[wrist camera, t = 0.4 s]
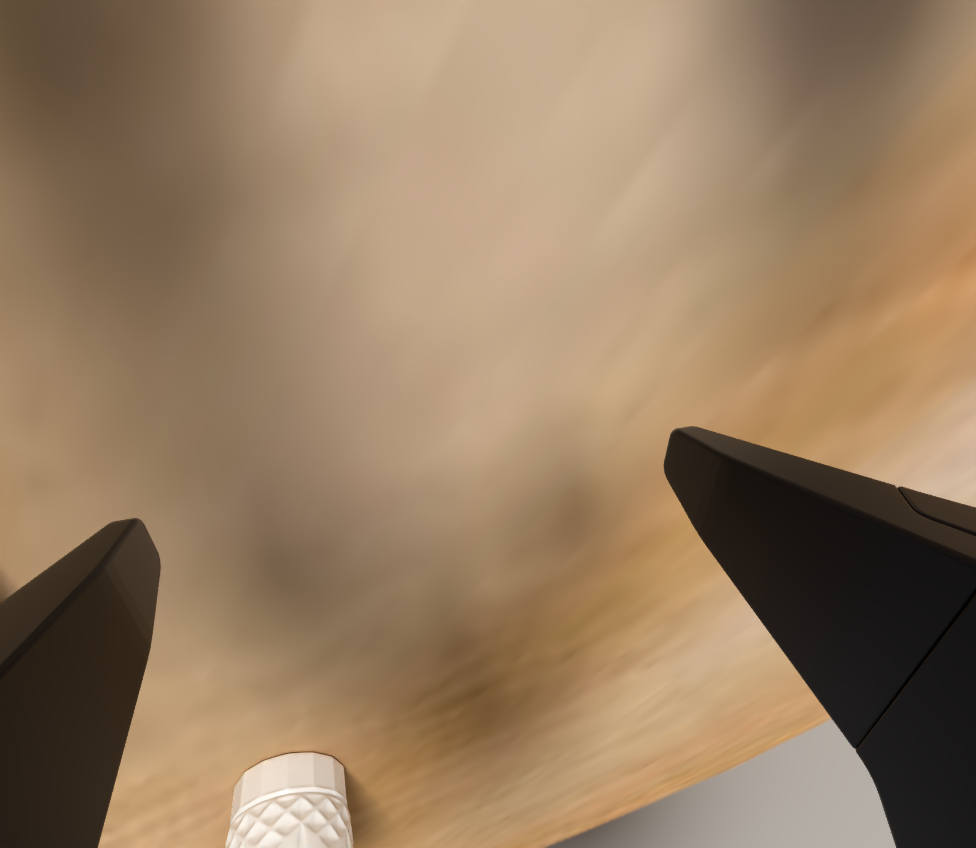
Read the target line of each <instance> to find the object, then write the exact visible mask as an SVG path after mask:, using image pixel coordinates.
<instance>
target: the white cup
mask: <svg viewBox="0 0 976 848" xmlns="http://www.w3.org/2000/svg"><path fill="white" fill-rule="evenodd" d="M350 820H351V817H350V813H349V811H348V808H347V799H346V789H345V777H344V767H343V765H341V764H340V763H339V762H338V761H337V760H336V759H334V758H333V757H332V756H328V755H323V754H319V753H314V752H304V753H301V752H300V753H288V754H284V755H281V756H277V757H274V758H270V759H267V760H264V761H262V762H260V763H259V764H257V765H255V766H253V767H252V768H250V769H249V770H247V771H245V772H244V774H243V775H242V776H241V778H240V779H239V781H238V782H237V784H236V785H235V788H234V796H233V804H232V812H231V820H230V830H229V833H228V837H227V840H226V844H225V848H354V843H353V834H352V827H351V821H350Z"/></svg>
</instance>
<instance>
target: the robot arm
mask: <svg viewBox="0 0 976 848" xmlns="http://www.w3.org/2000/svg"><path fill="white" fill-rule="evenodd" d="M664 472H665V476H666V478H667V480H668V482H669V484H670V485H671V487H672V489H673V491H674V492H675V494H676V496H677V498H678V500H679V501H680V503H681V505H682V507H683V508H684V510H685V512H686V514H687V516H688V517H689V519H690V521H691V523H692V525H693V526H694V528H695V530H696V531H697V533H698V534H699V536H700V537H701V539H702V540H703V542H704V543H705V545H706V546H707V548H708V549H709V550H710V552H711V553H712V554H713V556H714V557H715V559H716V560H717V561H718V563H719V564H720V565H721V567H722V568H723V570H724V571H725V572H726V574H727V575H728V576H729V578H730V579H731V581H732V582H733V583H734V585H735V586H736V587H737V589H738V590H739V592H740V593H741V594H742V596H743V597H744V598H745V600H746V601H747V603H748V604H749V605H750V607H751V608H752V609H753V611H754V612H755V614H756V615H757V616H758V618H759V619H760V620H761V622H762V623H763V625H764V626H765V627H766V629H767V630H768V631H769V633H770V634H771V636H772V637H773V638H774V640H775V641H776V642H777V644H778V645H779V647H780V648H781V649H782V651H783V652H784V653H785V655H786V656H787V658H788V659H789V660H790V662H791V663H792V664H793V666H794V667H795V669H796V670H797V671H798V673H799V674H800V676H801V677H802V678H803V680H804V681H805V682H806V684H807V685H808V687H809V688H810V689H811V691H812V692H813V693H814V695H815V696H816V698H817V699H818V700H819V702H820V703H821V704H822V706H823V707H824V709H825V710H826V711H827V713H828V714H829V715H830V717H831V718H832V720H833V721H834V722H835V724H836V725H837V726H838V728H839V729H840V731H841V732H842V733H843V735H844V736H845V737H846V739H847V740H848V742H849V743H850V744H851V746H852V747H853V748H855V749H856V752H857V754H858V755H859V757H860V758H861V760H862V761H863V763H864V765H865V766H866V768H867V769H868V771H869V773H870V775H871V777H872V779H873V781H874V783H875V785H876V788H877V791H878V793H879V796H880V799H881V802H882V805H883V808H884V811H885V815H886V817H887V821H888V824H889V827H890V830H891V833H892V836H893V839H894V842H895V845H896V848H976V507H972V506H968V505H964V504H961V503H957V502H954V501H950V500H946V499H943V498H939V497H936V496H932V495H929V494H925V493H922V492H918V491H915V490H912V489H908V488H905V487H898V488H897V487H896V486H895V485H892V484H889V483H885V482H882V481H878V480H875V479H872V478H868V477H865V476H861V475H858V474H855V473H851V472H848V471H845V470H841V469H838V468H834V467H831V466H828V465H824V464H821V463H817V462H814V461H811V460H807V459H804V458H801V457H797V456H794V455H790V454H787V453H784V452H780V451H777V450H773V449H770V448H767V447H763V446H760V445H757V444H753V443H750V442H746V441H743V440H740V439H736V438H733V437H729V436H726V435H723V434H719V433H716V432H712V431H709V430H706V429H702V428H699V427H695V426H689V427H683V428H677V429H675V430H673V431H672V433H671V435H670V438H669V443H668V447H667V451H666V456H665V460H664ZM160 569H161V565H160V558H159V554H158V551H157V549H156V547H155V545H154V543H153V541H152V539H151V537H150V535H149V533H148V531H147V529H146V527H145V525H144V523H143V522H142V521H141V520H140V519H138V518H132V519H126V520H120V521H114V522H111V523H109V524H108V525H106V526H105V527H104V528H102V529H101V530H100V531H98V532H97V533H95V534H94V535H93V536H91V537H90V538H89V539H87V540H86V541H85V542H83V543H82V544H80V545H79V546H78V547H76V548H75V549H74V550H72V551H71V552H70V553H68V554H67V555H65V556H64V557H63V558H61V559H60V560H59V561H57V562H56V563H55V564H53V565H52V566H50V567H49V568H48V569H46V570H45V571H44V572H42V573H41V574H39V575H38V576H37V577H35V578H34V579H33V580H31V581H30V582H29V583H27V584H26V585H24V586H23V587H22V588H20V589H19V590H18V591H16V592H15V593H14V594H12V595H11V596H9V597H8V598H7V599H5V600H4V601H3V602H1V603H0V848H98V845H99V841H100V837H101V833H102V830H103V826H104V822H105V818H106V815H107V811H108V807H109V803H110V800H111V796H112V792H113V788H114V785H115V781H116V777H117V773H118V770H119V766H120V762H121V758H122V755H123V751H124V747H125V743H126V740H127V736H128V732H129V728H130V725H131V721H132V717H133V713H134V710H135V706H136V702H137V698H138V695H139V691H140V687H141V683H142V680H143V676H144V672H145V668H146V665H147V661H148V656H149V652H150V648H151V641H152V635H153V627H154V619H155V611H156V603H157V594H158V586H159V578H160Z"/></svg>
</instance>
